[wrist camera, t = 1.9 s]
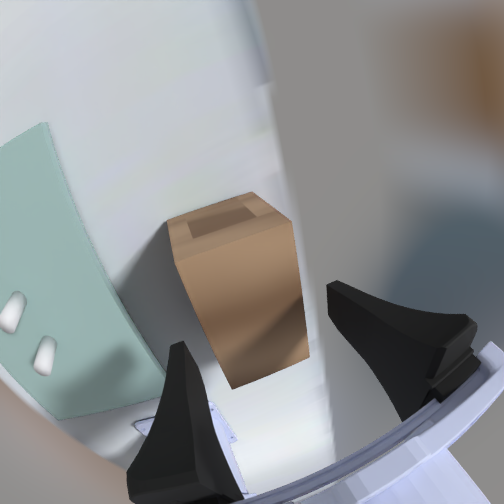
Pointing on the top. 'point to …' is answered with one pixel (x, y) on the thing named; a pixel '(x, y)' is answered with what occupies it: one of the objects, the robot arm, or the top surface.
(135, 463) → the robot arm
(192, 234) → the box
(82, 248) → the pin board
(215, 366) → the top surface
